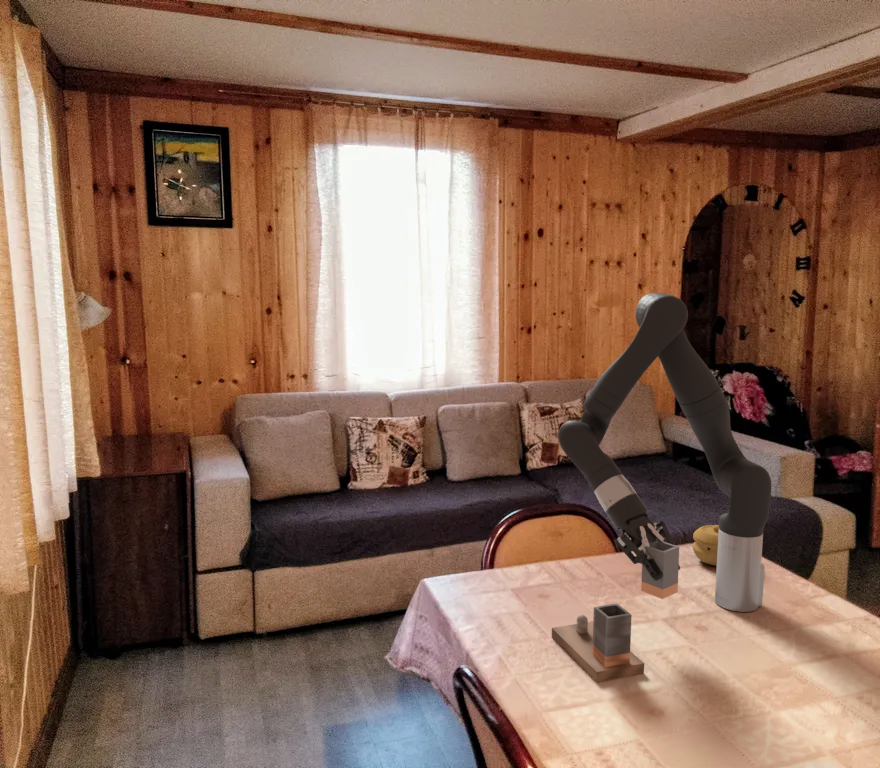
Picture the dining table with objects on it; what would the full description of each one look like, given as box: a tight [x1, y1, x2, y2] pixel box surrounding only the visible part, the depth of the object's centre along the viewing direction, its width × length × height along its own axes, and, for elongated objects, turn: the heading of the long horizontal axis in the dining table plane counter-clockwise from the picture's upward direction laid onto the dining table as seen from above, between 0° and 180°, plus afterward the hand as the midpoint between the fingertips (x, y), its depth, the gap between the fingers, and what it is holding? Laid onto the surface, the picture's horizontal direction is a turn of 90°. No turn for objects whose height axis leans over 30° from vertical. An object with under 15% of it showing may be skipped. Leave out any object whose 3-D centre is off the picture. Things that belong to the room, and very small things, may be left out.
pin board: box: [551, 603, 645, 683], centre depth 143 cm, size 10×18×12 cm, turn 18°
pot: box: [692, 524, 719, 567], centre depth 189 cm, size 12×12×10 cm
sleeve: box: [640, 539, 680, 600], centre depth 146 cm, size 5×5×10 cm
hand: (668, 574), depth 144 cm, fingers closed on sleeve, 5 cm apart
